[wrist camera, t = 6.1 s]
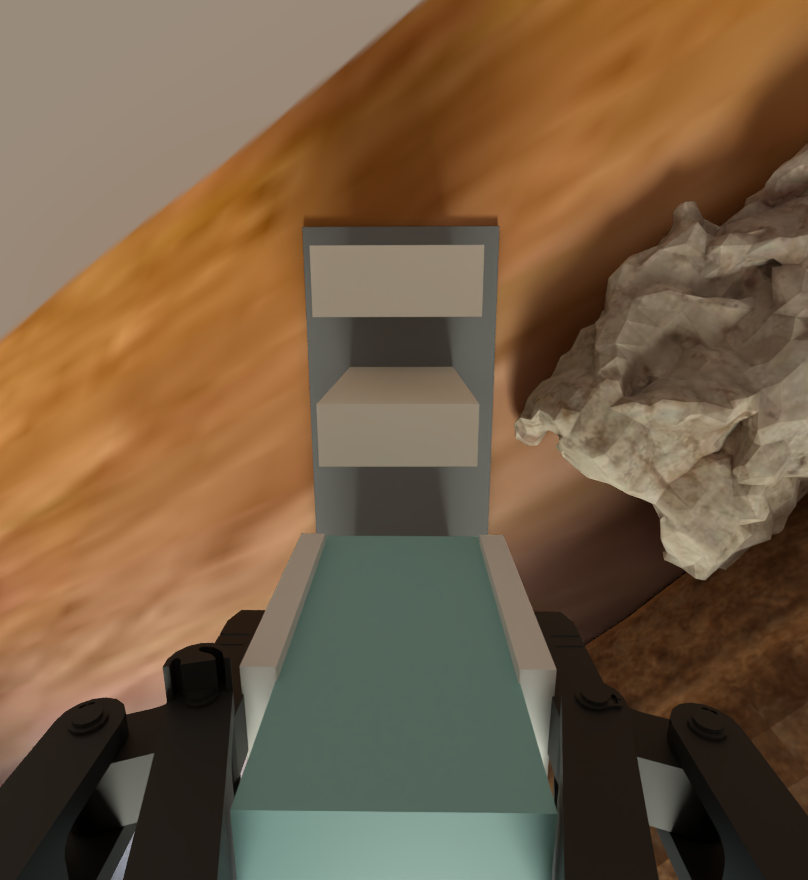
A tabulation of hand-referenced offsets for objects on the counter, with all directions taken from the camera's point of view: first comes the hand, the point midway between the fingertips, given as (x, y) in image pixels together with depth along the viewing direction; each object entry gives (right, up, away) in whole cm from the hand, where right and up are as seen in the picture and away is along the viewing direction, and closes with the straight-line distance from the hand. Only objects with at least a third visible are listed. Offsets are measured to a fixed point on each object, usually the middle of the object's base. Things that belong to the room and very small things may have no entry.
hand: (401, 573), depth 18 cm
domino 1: (0, +11, +8) cm, 14 cm away
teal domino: (0, 0, +1) cm, 1 cm away
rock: (+18, +10, +9) cm, 22 cm away
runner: (0, +2, +11) cm, 11 cm away
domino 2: (0, +7, +9) cm, 11 cm away
